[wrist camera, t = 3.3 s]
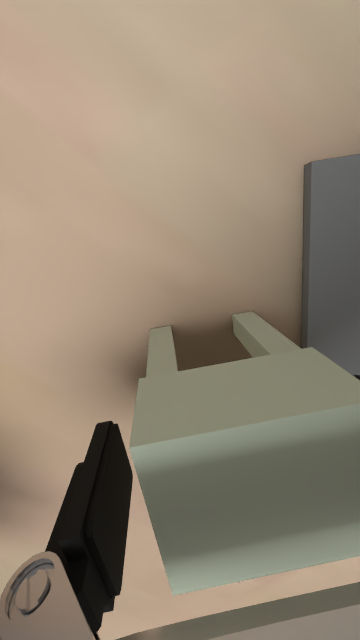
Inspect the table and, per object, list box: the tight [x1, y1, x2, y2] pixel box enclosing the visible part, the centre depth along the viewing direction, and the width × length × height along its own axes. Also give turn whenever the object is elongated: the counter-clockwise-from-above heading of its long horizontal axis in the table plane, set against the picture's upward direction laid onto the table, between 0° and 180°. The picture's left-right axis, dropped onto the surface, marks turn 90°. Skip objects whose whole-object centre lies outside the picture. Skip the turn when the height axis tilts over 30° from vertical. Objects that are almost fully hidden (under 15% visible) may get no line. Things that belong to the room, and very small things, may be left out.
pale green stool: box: [129, 311, 360, 596], centre depth 11 cm, size 6×6×8 cm
